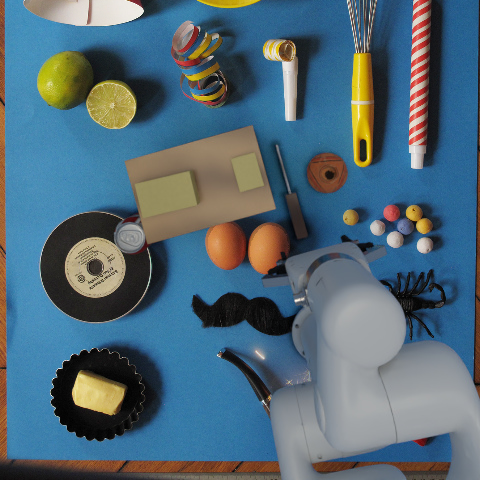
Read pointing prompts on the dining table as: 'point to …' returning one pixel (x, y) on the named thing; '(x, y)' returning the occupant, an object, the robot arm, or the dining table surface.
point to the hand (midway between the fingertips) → (314, 252)
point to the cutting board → (203, 183)
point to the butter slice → (247, 172)
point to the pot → (327, 172)
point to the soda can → (131, 235)
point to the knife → (293, 206)
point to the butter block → (167, 194)
